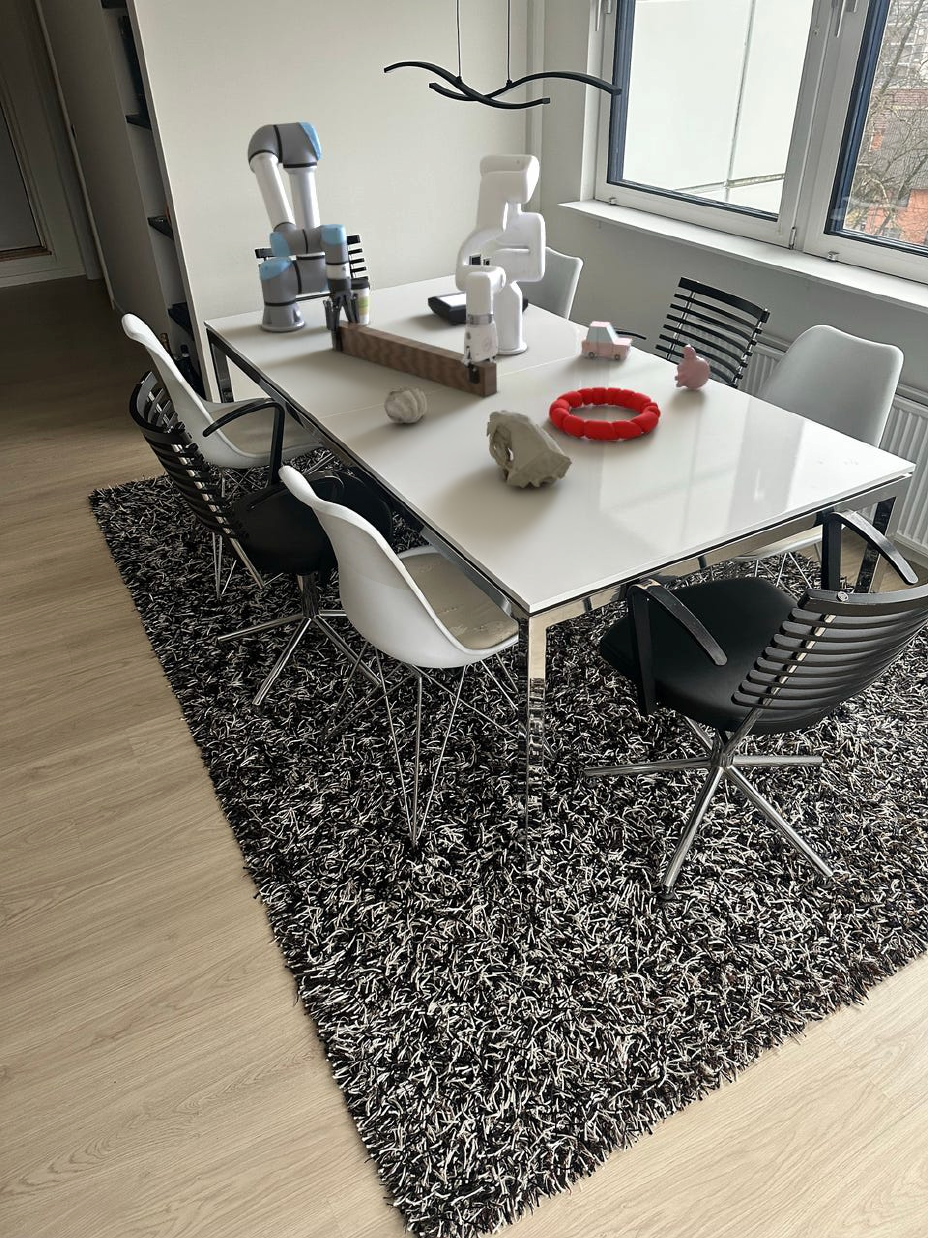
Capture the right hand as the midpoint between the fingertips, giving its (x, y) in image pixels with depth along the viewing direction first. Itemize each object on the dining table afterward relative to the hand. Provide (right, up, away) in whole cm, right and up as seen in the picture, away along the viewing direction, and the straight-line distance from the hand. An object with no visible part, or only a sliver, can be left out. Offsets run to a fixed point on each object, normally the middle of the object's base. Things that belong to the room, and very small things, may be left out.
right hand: (480, 379), depth 264 cm
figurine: (+62, -3, -1) cm, 62 cm away
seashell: (-21, -16, -17) cm, 31 cm away
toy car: (+41, +14, +25) cm, 50 cm away
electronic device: (0, +43, +69) cm, 81 cm away
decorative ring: (+33, -17, -20) cm, 43 cm away
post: (-22, +9, +20) cm, 31 cm away
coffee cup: (-43, +38, +63) cm, 85 cm away
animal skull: (+9, -34, -44) cm, 56 cm away
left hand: (-45, +21, +38) cm, 63 cm away
